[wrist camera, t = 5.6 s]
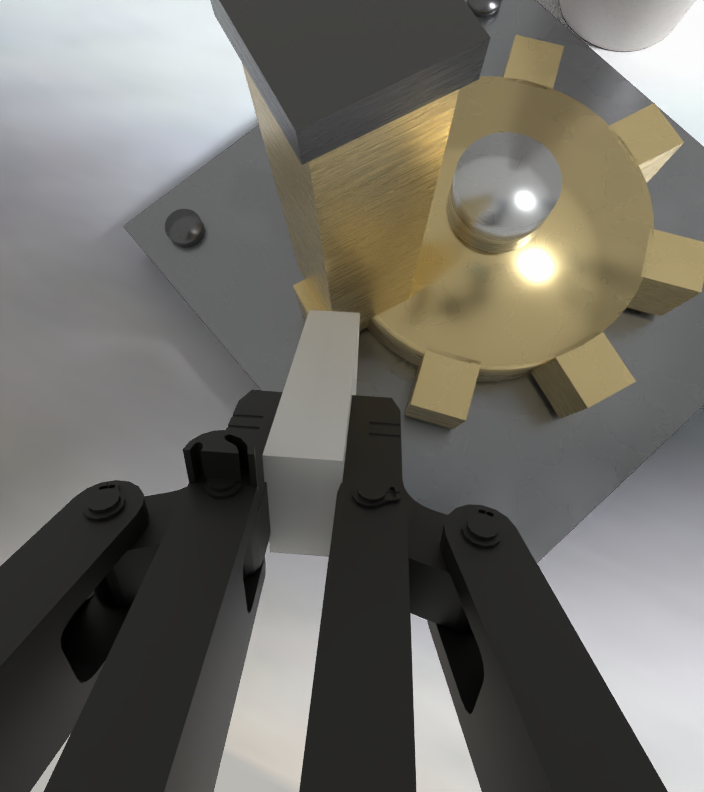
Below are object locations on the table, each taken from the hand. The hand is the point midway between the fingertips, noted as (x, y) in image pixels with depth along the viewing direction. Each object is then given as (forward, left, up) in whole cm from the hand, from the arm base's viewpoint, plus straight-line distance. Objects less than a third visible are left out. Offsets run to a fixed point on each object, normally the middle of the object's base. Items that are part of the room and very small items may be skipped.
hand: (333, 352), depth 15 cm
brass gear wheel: (+1, -9, -5) cm, 10 cm away
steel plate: (+1, -9, -8) cm, 12 cm away
